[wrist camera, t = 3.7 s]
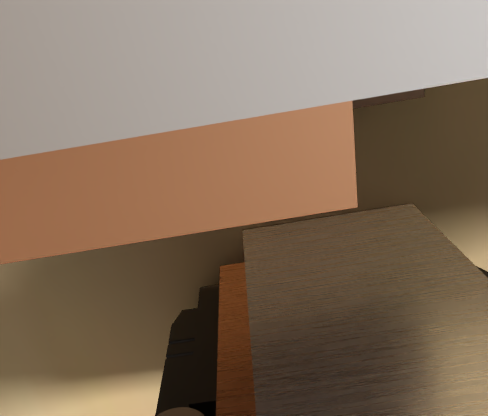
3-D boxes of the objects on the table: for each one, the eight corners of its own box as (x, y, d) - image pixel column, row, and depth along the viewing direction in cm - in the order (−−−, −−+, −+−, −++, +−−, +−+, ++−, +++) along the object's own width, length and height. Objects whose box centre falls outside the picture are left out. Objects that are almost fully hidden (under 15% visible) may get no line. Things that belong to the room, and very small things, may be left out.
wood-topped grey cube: (410, 335, 12) (567, 605, 6) (244, 360, 12) (259, 645, 7) (412, 203, 10) (631, 419, 5) (218, 233, 10) (209, 479, 5)
